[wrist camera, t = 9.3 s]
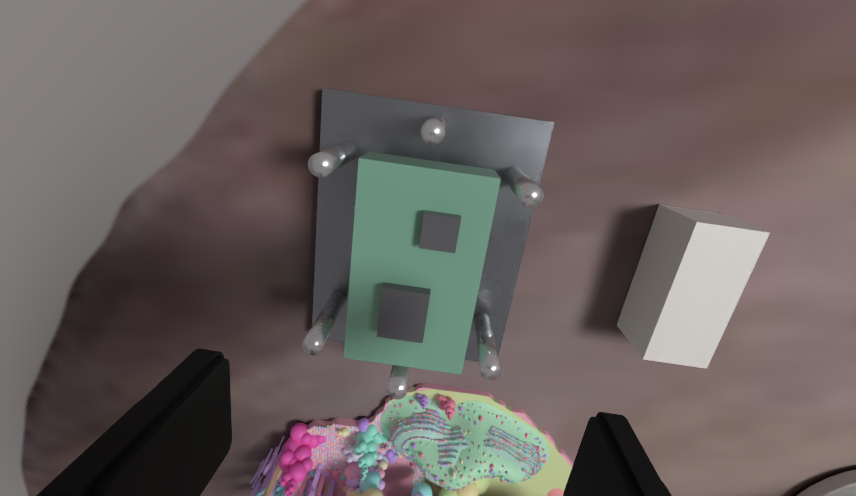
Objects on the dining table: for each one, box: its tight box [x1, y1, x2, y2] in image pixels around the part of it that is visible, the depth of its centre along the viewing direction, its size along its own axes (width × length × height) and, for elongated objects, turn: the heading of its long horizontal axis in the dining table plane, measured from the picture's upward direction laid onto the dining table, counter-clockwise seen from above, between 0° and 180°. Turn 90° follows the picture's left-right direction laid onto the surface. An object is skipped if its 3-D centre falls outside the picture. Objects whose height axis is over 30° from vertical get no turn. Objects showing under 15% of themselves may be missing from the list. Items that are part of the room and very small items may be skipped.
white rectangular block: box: [617, 204, 770, 368], centre depth 22 cm, size 8×4×4 cm, turn 172°
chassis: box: [302, 88, 554, 399], centre depth 21 cm, size 15×12×6 cm
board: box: [344, 152, 501, 374], centre depth 19 cm, size 10×6×3 cm, turn 172°
